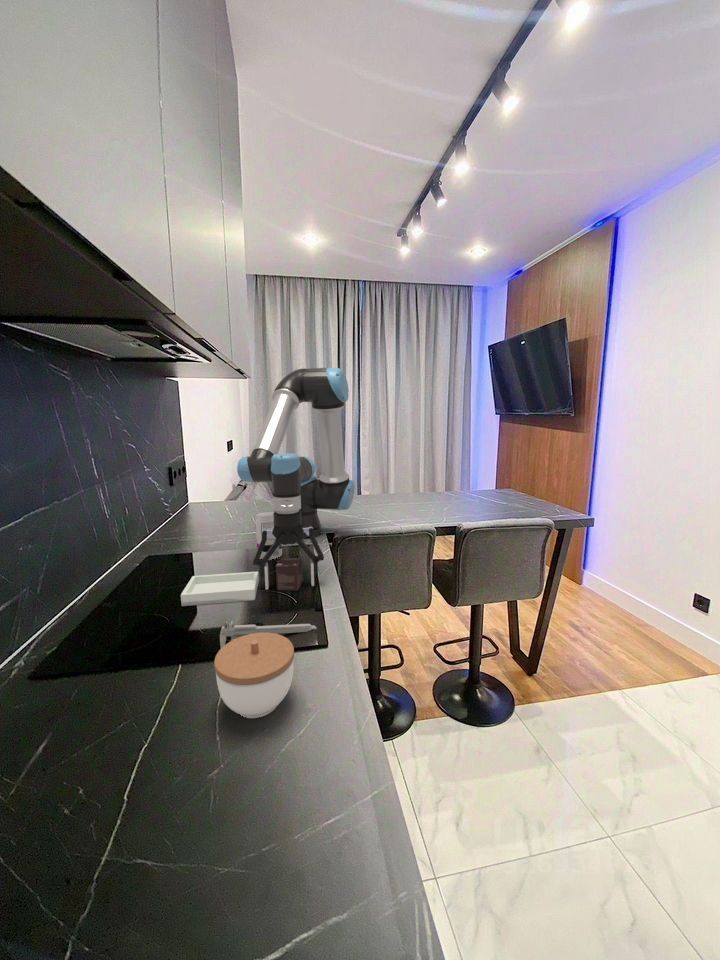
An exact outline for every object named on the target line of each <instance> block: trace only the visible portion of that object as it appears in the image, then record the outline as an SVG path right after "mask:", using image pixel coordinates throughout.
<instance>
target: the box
mask: <svg viewBox="0 0 720 960" xmlns="http://www.w3.org/2000/svg"><path fill="white" fill-rule="evenodd" d="M275 576H276V577H275V580H276V590H277V591H299V589H300V587H301V586H302V583H303V582H304V581H303V579H304V577H303V559H302V558H301V557H300V558H299V557H298V558H297V557H281V559H279V561H278V562H277V564H276V565H275Z"/></svg>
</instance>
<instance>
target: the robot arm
mask: <svg viewBox="0 0 720 960" xmlns="http://www.w3.org/2000/svg"><path fill="white" fill-rule="evenodd" d="M349 391H350V390H349V383H348V380H347V376H346V374H345V372H344V371H343V370H342V369H341V368H339V367H316V368H315V367H314V368H313V367H312V368H299V369H295V370H293V371H291V372H289V373H288V374H286V375H285V376H284V377H283V378H282V379H281V380H280V381H279V382H278V384H277V385H276V386H275V388H274V390H273V393H272V395H271V398H272V403H271V405H270V408H269V410H268V413H267V415H266V417H265V420H264V422H263V425H262V428H261V430H260V432H259V434H258V436H257V440H256V442H255V445H254V446H253V449H252V451H251V454H250V456H248V455H246V456H243V457H241V458H240V459H238V461H237V465H236V466H237V467H236V471H237V475H238V476H237V477H239V479H240V480H241V481H243V482H248V483H271V485H272V487H271V489H272V510H273V511H274V513H273V517H274V528H273V530H267V529H263V532H262V540H261V543H260V545H259V548H258V550H257V549H256V552H255V556H254V558H253V561H252V564H253V565H254V566H259V569H260V571H259V572H260V577H261V578H264V583H265V584H264V586H265V590H269V587H270V579H269V563H268V561H270V560H269V558H270V557H271V555H272V554H273V553H274V551H275V550H276V548H277V547H278V546H279V545H280V543H281V544H282V546H286V545H295V544H297V545H298V546H299V547H300V548H301V549H302V551H303V552H304V553H305V554H306V555H307V557H308V558H310V584H311V587H314V586H315V574H318V572H319V565H318V564H319V562H321V561H323V560H325V555H324V553H323V551H322V548H321V547H320V544H319V543H318V541H317V538H316V537H318V536H320V535H321V534H322V533H323V526H322V523H321V520H320V517H319V515H318V510H336V511H343V510H347V511H348V509H350V507H351V505H352V504H353V499H354V494H355V482H354V480H352V479H350V475H349V474H348V473H347V472H346V470H345V469H346V468H345V458H344V456H345V455H344V440H343V427H342V414H341V413H342V412H341V411H342V409H343V408H344V407H345V403H346V402H348V401H349V396H350V395H349ZM301 403H311V407H312V409H313V411H315V412H316V414H317V415H316V416H317V428H318V438H319V440H318V441H319V449H320V459H321V460H320V461H321V468H322V469H321V470H322V473H321V474H320V475H319V477H317V476H316V475H315V472H316V465H315V463H314V461H313V460H312V459H311V458H309V457H308V456H299V454H297V453H292V452H291V453H286V452H285V453H279V452H280V449H281V447H282V444H283V441H284V438H285V436H286V433H287V429H288V427H289V424H290V422H291V419H292V416H293V414H294V411H295V410H297V409H298V408H299V406H300V404H301ZM321 532H322V533H321ZM320 533H321V534H320ZM271 534H273V535H274V537H275V538H276V540H275V541H274V543H273V544H272V546H271V547H270V549H269V550H268V551H267V553H266V554H265V556H264V557H263V558H262V560H261V559H260V556H261V553H262V551H263V548H264V546H265V543H266V540H267V538H269V537H270V535H271ZM319 534H320V535H319ZM317 535H318V536H317ZM307 537H310V538H309V539H310V542H311V544H312V546H313V548H314V550H315V553H316V554H317V555H316V554H315V553H314V552H313V551H312V549H311V548H310V547H309V546H308V545H307V544H306V542H305V541H304V539H308V538H307Z"/></svg>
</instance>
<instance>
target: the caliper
mask: <svg viewBox="0 0 720 960" xmlns="http://www.w3.org/2000/svg"><path fill="white" fill-rule="evenodd" d="M312 630H317V626H315V625H312V624H311V623H298V624H297V623H296V624H295V623H294V624H278V625H277V624H275V625H274V624H273V625H256V624H236V625H235V624H234V622H233V620H231V621H230V622H229V623H228V621H227V620H225V624H224V626H221V629H220V632H219V633H220V634H219V644H220V649H221V648H222V647H223V646H225V645H226V641H227V637H230V641H232V640H234V639H236V638H239V637H241V636H244V635H248V634H253V633H266V632H267V633H275V634H279V635H280V634H291V633H292V634H294V633H306V632H310V631H312Z"/></svg>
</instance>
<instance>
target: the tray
mask: <svg viewBox="0 0 720 960" xmlns="http://www.w3.org/2000/svg"><path fill="white" fill-rule="evenodd" d="M259 577H260V576H259V571H246V572H232V573H231V572H230V573H217V574H216V573H215V574H201V575H192V576H191V578H190V580H189V581H188V583H187V584H186V586H185V587H184V589H183V590H182V591H181V594H180V601H181V602H180V603H181V607H187V606H188V607H189V606H201V605H202V606H203V605H212V604H224V603H225V604H226V603H237V602H249V601H250V602H251V601H255V600H256V596H257V592H258V586H259V581H260V578H259Z"/></svg>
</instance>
